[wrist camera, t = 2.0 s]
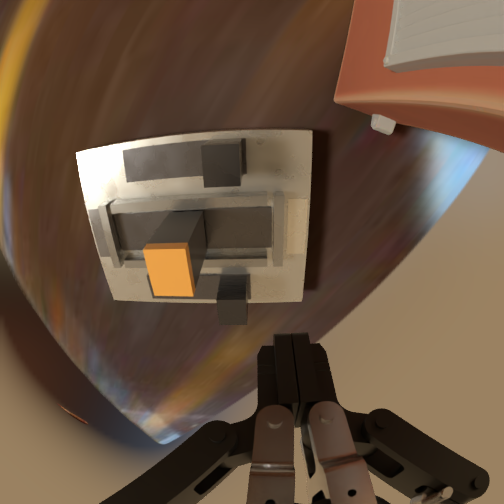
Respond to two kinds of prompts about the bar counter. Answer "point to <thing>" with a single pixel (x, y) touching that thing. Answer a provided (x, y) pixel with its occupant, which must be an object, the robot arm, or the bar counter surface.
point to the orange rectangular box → (427, 67)
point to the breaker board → (206, 211)
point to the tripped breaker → (176, 254)
